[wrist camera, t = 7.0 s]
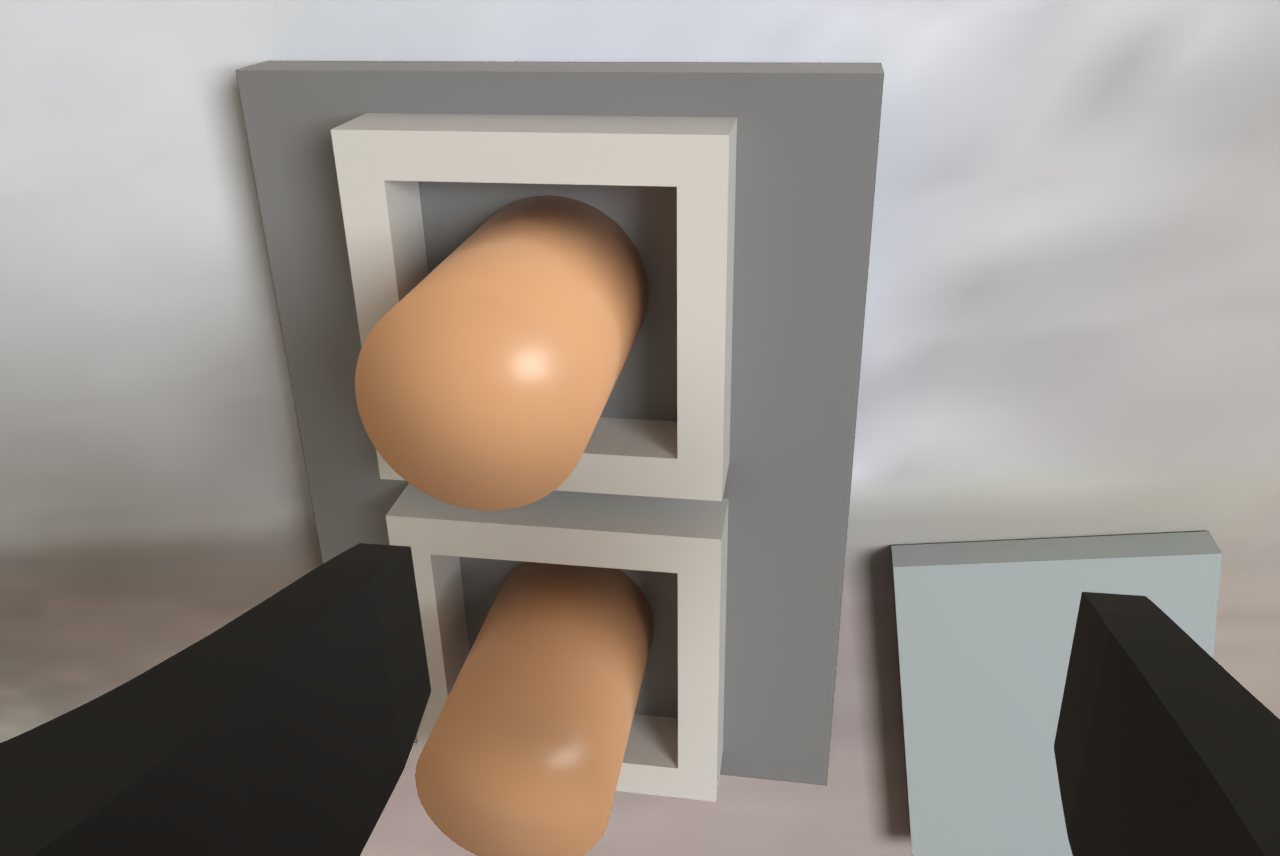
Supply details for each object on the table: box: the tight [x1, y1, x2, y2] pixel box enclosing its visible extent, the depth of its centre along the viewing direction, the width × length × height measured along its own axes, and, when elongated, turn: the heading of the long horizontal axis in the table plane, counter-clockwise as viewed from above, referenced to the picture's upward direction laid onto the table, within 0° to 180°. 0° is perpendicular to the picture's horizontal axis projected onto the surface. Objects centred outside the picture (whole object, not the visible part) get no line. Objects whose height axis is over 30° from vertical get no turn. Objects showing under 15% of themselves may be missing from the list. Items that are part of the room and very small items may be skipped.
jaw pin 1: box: [355, 195, 648, 511], centre depth 17 cm, size 3×3×5 cm
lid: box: [891, 531, 1222, 856], centre depth 23 cm, size 8×6×1 cm
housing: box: [236, 61, 884, 802], centre depth 21 cm, size 15×11×3 cm
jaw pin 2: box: [415, 562, 654, 856], centre depth 20 cm, size 3×3×5 cm
